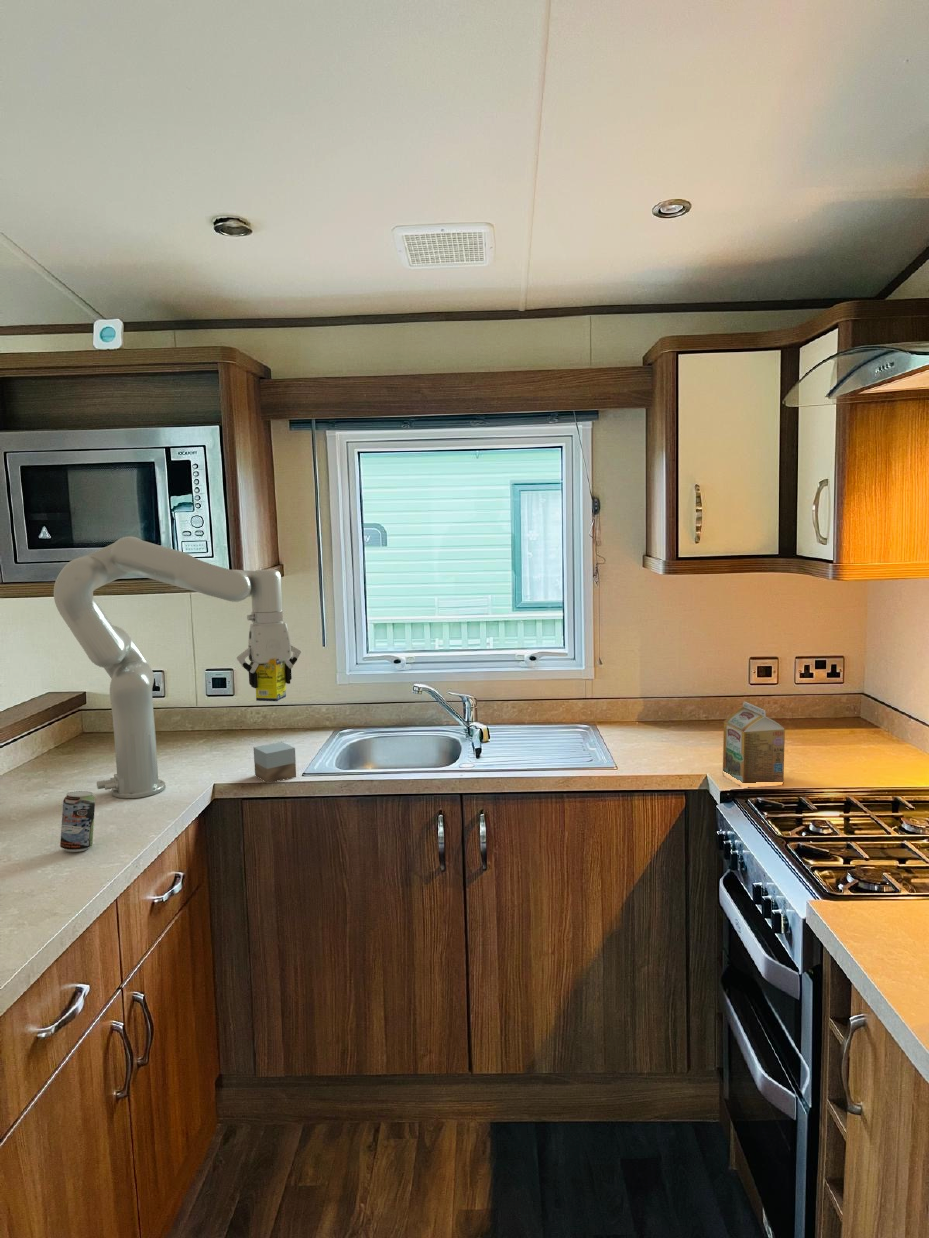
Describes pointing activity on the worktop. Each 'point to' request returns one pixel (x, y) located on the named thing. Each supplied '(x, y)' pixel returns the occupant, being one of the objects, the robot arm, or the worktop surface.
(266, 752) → the slate block
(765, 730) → the milk carton
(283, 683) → the supplement box
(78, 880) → the worktop surface
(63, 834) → the beverage can
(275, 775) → the walnut block
